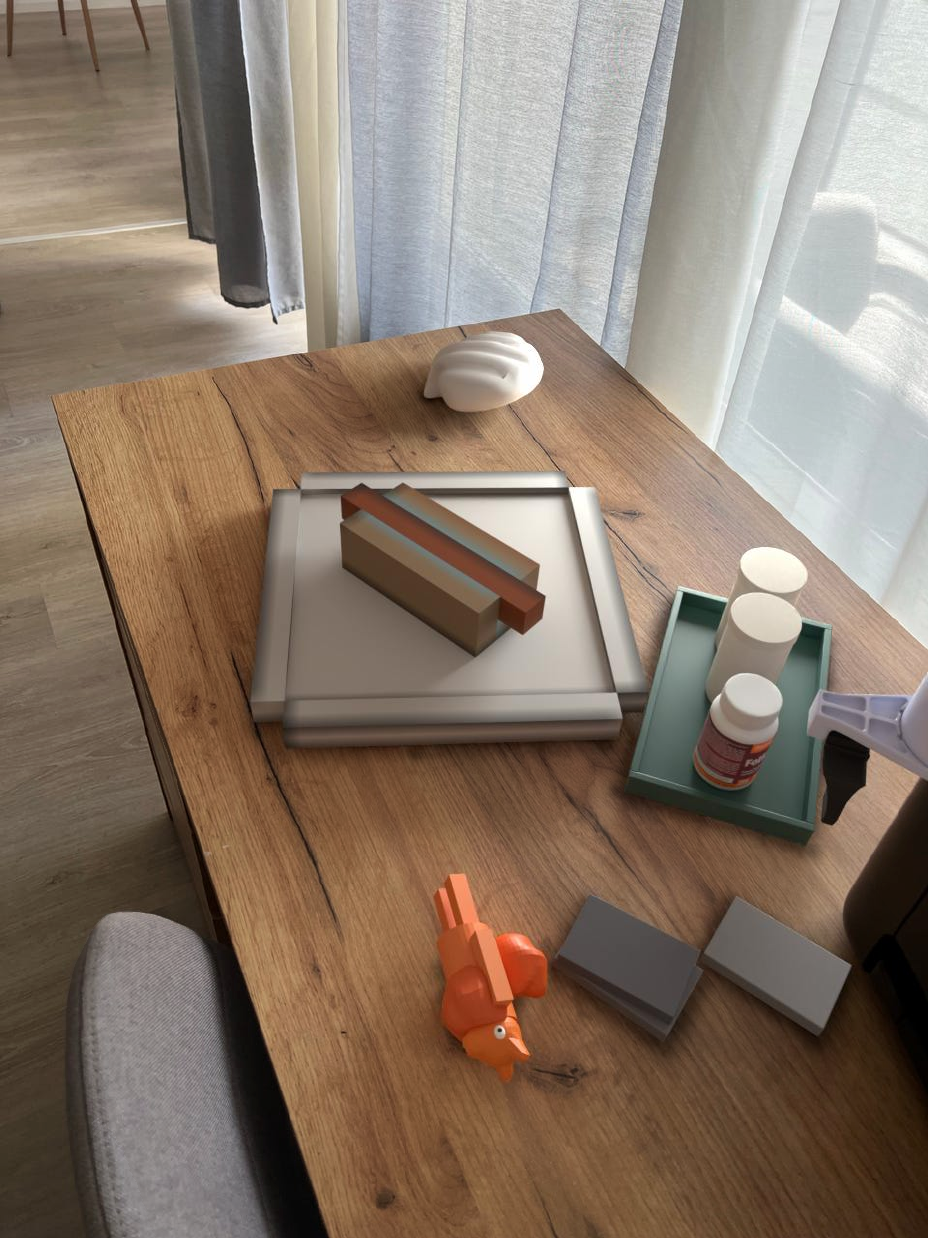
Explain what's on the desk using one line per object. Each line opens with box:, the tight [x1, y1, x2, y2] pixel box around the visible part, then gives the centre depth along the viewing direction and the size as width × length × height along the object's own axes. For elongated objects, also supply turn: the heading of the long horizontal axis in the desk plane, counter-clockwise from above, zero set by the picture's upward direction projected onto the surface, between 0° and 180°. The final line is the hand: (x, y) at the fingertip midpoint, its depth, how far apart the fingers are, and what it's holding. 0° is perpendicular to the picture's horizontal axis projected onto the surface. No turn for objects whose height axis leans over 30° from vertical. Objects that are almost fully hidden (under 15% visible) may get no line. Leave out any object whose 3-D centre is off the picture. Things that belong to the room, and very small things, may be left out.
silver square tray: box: [249, 470, 650, 749], centre depth 80 cm, size 30×30×8 cm
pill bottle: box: [693, 673, 783, 790], centre depth 69 cm, size 5×5×8 cm
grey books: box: [551, 893, 852, 1043], centre depth 60 cm, size 16×11×2 cm
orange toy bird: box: [432, 873, 548, 1082], centre depth 58 cm, size 5×8×12 cm
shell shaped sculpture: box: [423, 330, 544, 413], centre depth 103 cm, size 13×13×6 cm
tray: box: [623, 585, 833, 847], centre depth 75 cm, size 21×13×2 cm, turn 161°
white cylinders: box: [705, 547, 809, 703], centre depth 75 cm, size 11×5×9 cm, turn 161°
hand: (891, 830), depth 58 cm, fingers open, 7 cm apart
